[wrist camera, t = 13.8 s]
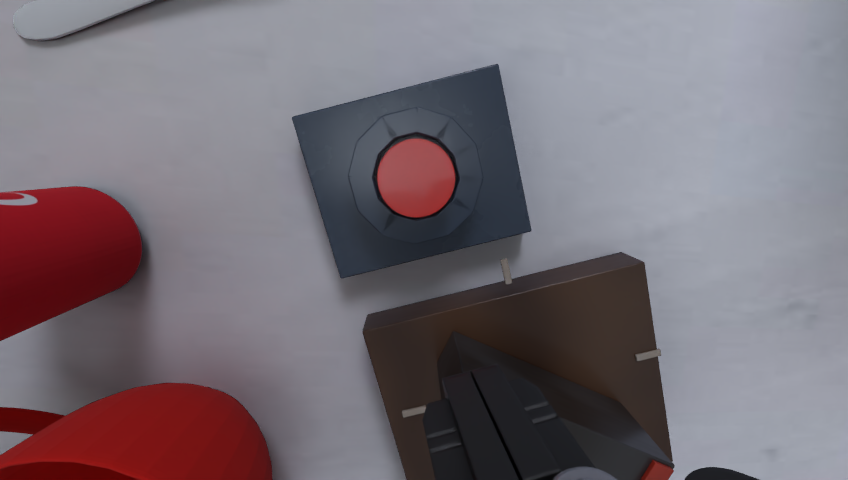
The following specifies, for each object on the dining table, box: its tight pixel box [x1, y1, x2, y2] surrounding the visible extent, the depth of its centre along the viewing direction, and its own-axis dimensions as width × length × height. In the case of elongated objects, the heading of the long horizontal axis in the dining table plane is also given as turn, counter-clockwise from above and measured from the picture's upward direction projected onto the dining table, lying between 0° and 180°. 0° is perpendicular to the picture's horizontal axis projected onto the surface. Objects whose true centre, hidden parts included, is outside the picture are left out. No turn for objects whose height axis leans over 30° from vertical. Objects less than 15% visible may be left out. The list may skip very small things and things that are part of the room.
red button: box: [377, 139, 455, 218], centre depth 19 cm, size 4×4×2 cm
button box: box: [292, 64, 531, 278], centre depth 21 cm, size 11×9×4 cm
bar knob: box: [437, 331, 674, 480], centre depth 21 cm, size 11×2×5 cm, turn 65°
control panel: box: [363, 252, 673, 480], centre depth 24 cm, size 16×15×3 cm
